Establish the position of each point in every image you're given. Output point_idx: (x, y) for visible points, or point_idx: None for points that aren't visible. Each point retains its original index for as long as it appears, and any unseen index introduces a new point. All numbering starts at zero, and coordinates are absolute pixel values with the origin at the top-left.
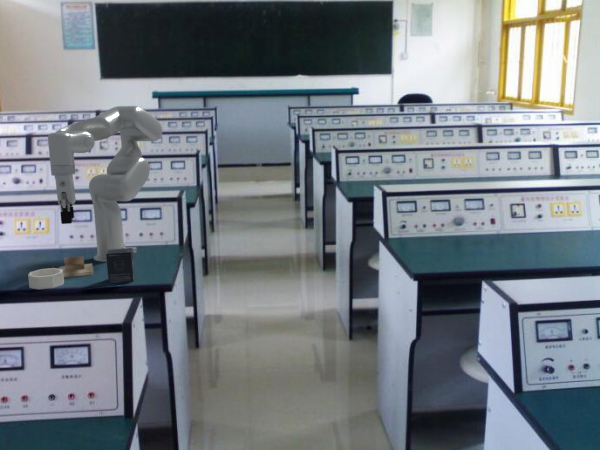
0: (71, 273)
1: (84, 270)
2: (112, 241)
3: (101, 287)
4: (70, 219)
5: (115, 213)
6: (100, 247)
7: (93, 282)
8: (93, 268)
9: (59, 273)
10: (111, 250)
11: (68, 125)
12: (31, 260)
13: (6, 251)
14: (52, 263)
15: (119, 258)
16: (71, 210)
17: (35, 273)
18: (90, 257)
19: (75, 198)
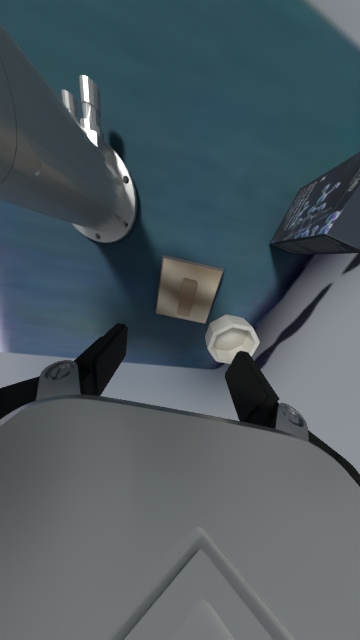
0: (211, 303)
1: (207, 281)
2: (99, 169)
3: (297, 270)
4: (252, 364)
5: None
6: (101, 220)
7: (257, 276)
8: (178, 259)
9: (254, 331)
10: (352, 227)
11: None
12: (73, 333)
13: (10, 352)
14: (101, 311)
15: None
16: (108, 353)
17: (215, 353)
18: (74, 243)
19: (57, 428)
